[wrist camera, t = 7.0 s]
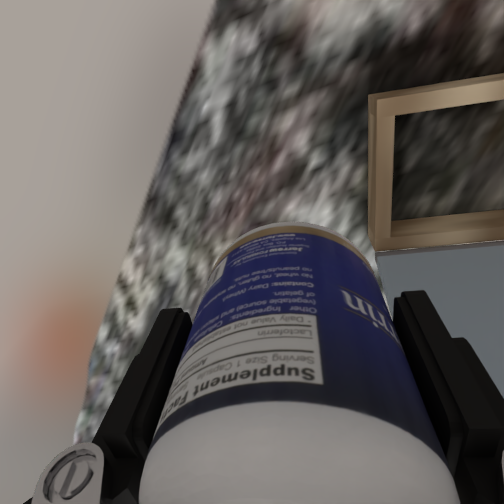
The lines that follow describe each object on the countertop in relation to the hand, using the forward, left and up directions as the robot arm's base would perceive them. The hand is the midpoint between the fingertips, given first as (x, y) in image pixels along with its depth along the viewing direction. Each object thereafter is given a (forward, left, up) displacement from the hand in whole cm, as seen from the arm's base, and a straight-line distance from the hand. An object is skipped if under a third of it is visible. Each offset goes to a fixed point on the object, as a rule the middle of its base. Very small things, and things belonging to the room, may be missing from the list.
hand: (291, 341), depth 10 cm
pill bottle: (0, 0, -3) cm, 3 cm away
